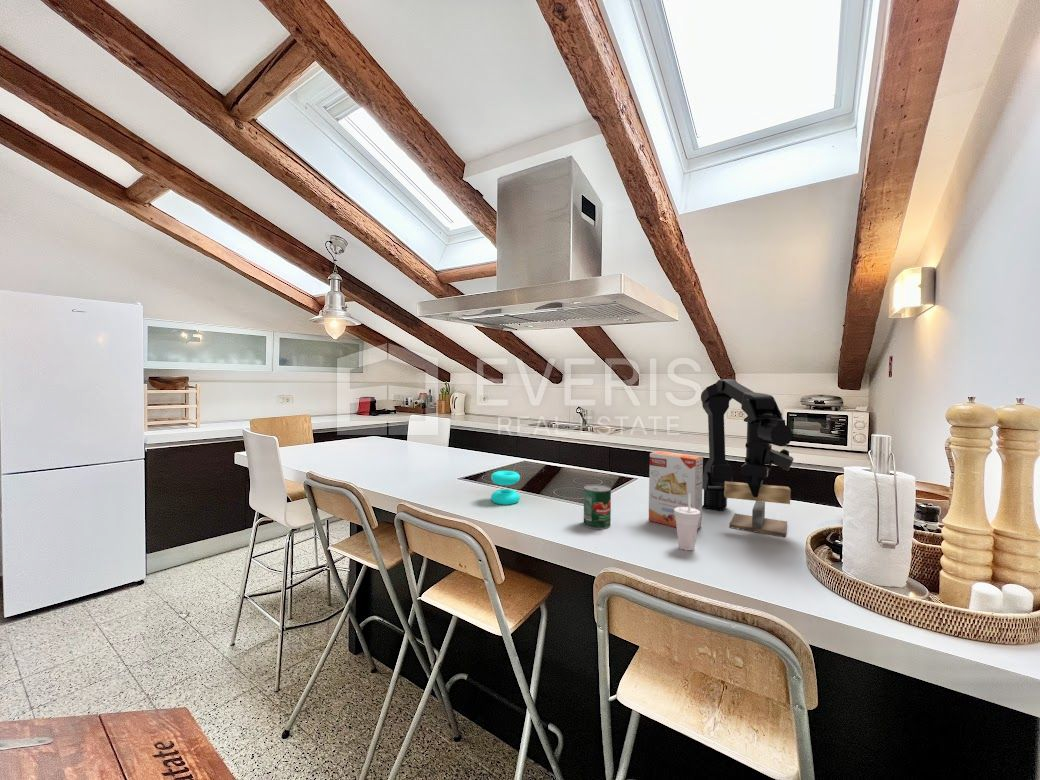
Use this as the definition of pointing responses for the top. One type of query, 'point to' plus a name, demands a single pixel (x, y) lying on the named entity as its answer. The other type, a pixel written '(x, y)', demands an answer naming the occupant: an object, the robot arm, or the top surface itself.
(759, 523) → the stand
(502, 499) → the donuts
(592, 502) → the canned tomato
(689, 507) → the smoothie
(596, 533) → the top surface
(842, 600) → the top surface
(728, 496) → the oak bar
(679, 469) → the cracker box
